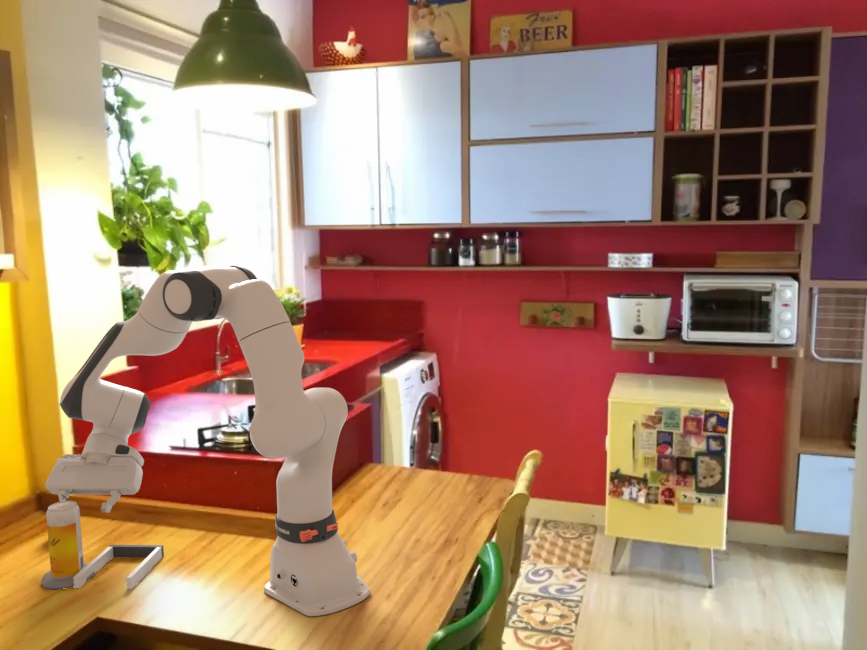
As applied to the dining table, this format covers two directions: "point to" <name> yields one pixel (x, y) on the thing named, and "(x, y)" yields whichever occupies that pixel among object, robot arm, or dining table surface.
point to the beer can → (64, 539)
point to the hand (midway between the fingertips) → (83, 511)
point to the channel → (148, 551)
